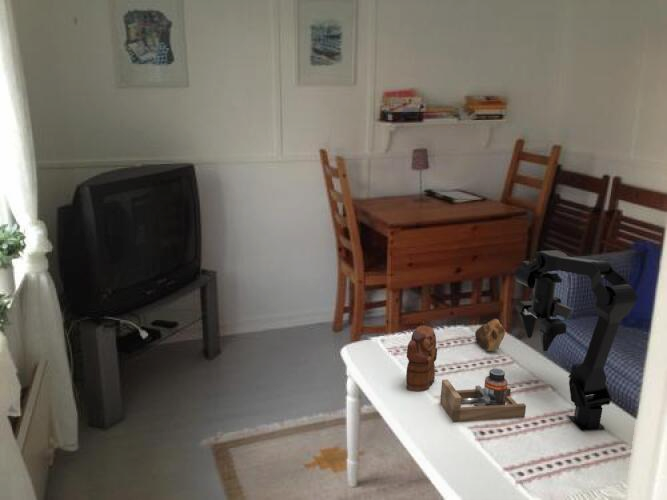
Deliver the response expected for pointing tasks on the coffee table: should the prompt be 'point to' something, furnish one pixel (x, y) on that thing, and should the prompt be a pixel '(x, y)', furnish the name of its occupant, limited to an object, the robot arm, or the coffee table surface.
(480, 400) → the pusher
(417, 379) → the wooden figurine
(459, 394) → the wooden tray
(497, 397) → the supplement bottle
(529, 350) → the coffee table surface
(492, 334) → the decorative rock
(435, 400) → the coffee table surface
